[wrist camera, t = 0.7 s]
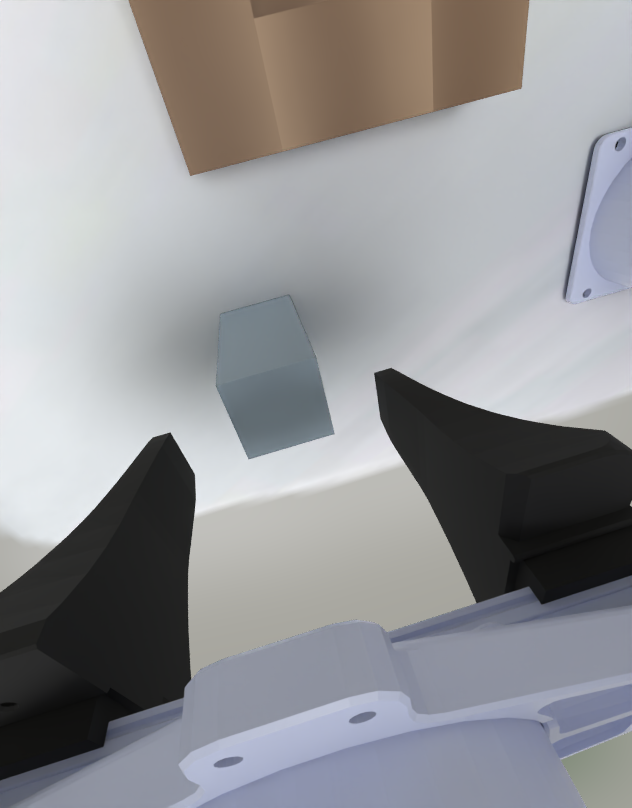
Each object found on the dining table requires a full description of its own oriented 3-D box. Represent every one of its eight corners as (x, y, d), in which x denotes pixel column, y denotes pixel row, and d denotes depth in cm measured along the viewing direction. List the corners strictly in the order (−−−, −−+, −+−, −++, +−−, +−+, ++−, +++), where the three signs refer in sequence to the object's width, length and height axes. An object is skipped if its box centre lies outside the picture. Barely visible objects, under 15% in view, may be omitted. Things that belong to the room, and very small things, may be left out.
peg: (289, 294, 18) (316, 357, 12) (305, 355, 20) (334, 433, 14) (220, 313, 18) (215, 385, 12) (243, 373, 20) (248, 459, 14)
